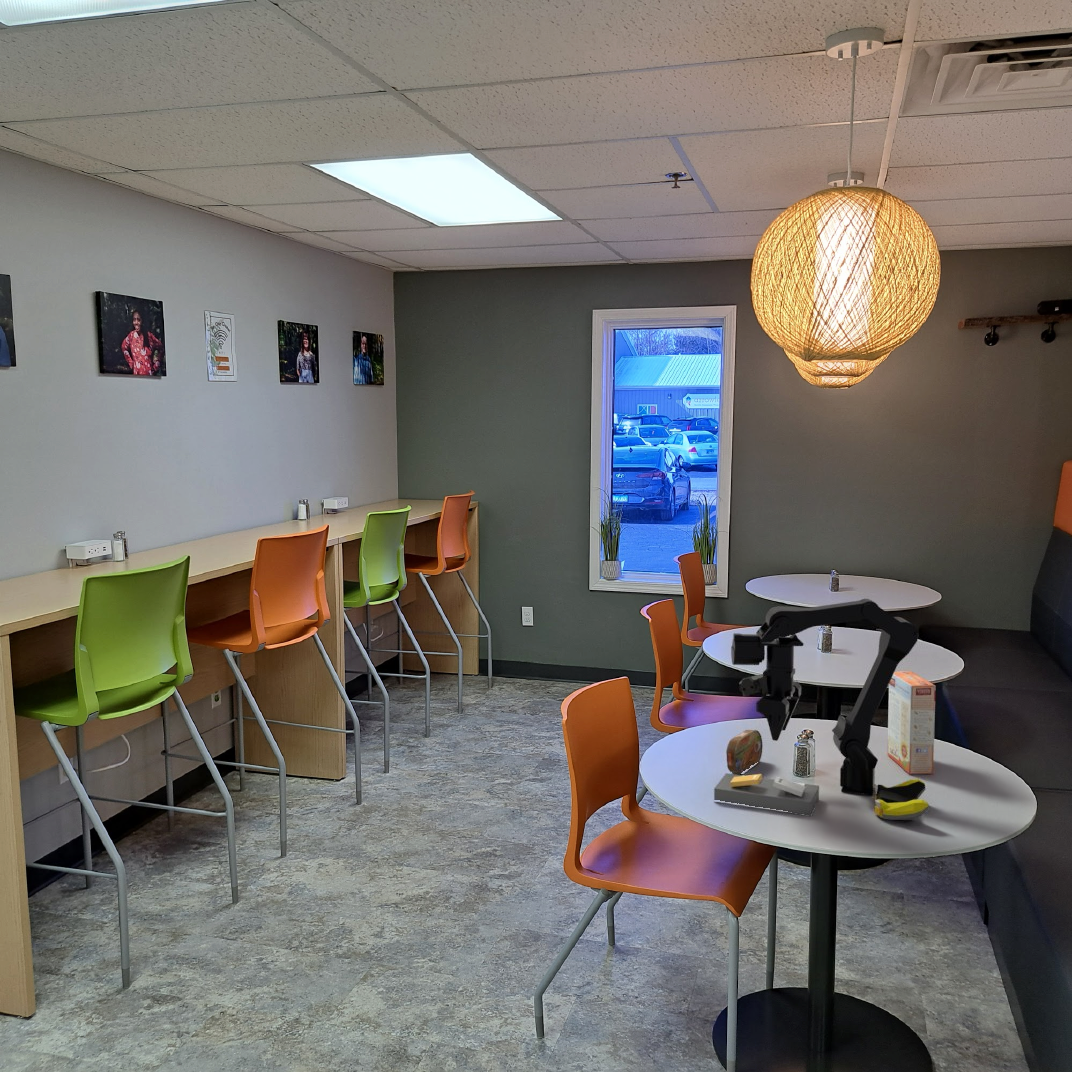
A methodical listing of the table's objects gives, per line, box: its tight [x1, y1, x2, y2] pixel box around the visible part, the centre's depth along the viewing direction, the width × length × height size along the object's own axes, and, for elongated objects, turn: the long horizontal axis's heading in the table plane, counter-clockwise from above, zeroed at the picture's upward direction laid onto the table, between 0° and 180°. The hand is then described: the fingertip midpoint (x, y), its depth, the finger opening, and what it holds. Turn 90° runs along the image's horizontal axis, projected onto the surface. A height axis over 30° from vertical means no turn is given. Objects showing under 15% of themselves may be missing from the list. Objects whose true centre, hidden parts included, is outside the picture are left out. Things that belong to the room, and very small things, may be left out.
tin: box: [726, 729, 764, 775], centre depth 218 cm, size 15×3×8 cm, turn 143°
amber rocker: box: [730, 773, 763, 787], centre depth 199 cm, size 6×4×1 cm, turn 65°
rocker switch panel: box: [713, 773, 820, 817], centre depth 199 cm, size 20×10×4 cm, turn 64°
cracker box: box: [887, 670, 936, 775], centre depth 218 cm, size 14×6×21 cm, turn 179°
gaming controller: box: [874, 778, 930, 821], centre depth 191 cm, size 15×6×10 cm
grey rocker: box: [773, 775, 805, 797], centre depth 195 cm, size 6×4×1 cm, turn 64°
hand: (778, 735), depth 204 cm, fingers open, 8 cm apart
